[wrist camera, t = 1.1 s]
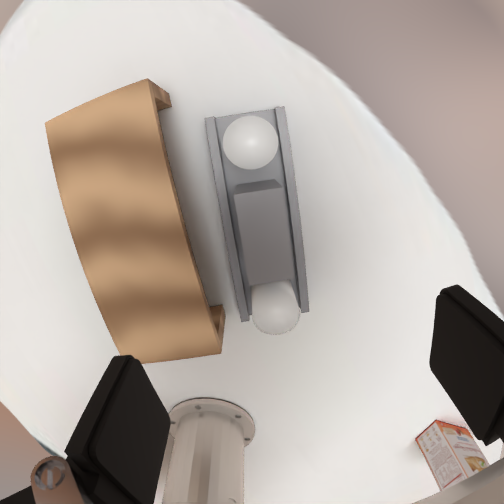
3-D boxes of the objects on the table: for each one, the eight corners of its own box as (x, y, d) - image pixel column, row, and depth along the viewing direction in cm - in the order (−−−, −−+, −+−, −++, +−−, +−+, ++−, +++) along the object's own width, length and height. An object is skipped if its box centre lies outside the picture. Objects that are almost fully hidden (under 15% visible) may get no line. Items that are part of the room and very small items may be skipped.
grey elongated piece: (304, 299, 34) (321, 343, 26) (241, 309, 34) (240, 355, 26) (280, 110, 28) (294, 94, 20) (208, 121, 28) (194, 109, 20)
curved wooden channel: (225, 315, 34) (221, 353, 27) (143, 329, 34) (125, 365, 28) (168, 93, 26) (147, 78, 20) (81, 125, 27) (44, 122, 20)
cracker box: (467, 426, 44) (509, 494, 25) (447, 445, 46) (483, 514, 26) (436, 417, 42) (483, 502, 22) (413, 438, 44) (452, 523, 24)
